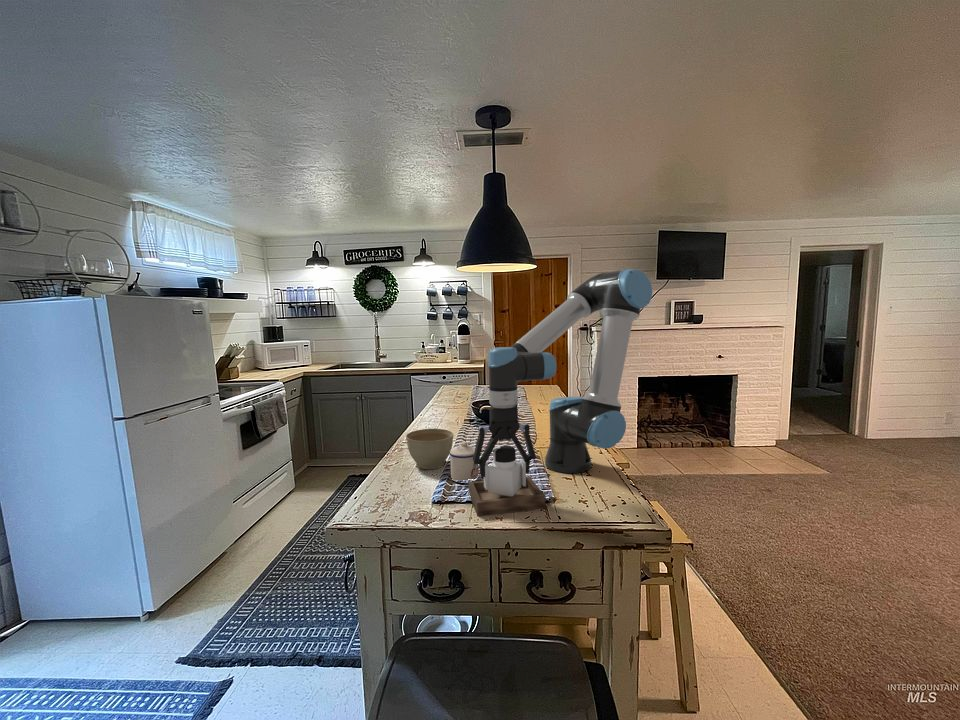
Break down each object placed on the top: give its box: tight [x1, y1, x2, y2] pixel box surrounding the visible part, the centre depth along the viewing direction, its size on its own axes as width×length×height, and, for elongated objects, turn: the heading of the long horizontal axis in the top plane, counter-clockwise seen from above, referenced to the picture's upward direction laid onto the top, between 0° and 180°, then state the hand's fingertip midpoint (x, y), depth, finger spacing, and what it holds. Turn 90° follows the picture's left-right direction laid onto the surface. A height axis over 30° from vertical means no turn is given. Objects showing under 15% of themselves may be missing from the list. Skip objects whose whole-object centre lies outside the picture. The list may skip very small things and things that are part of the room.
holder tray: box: [468, 476, 546, 517], centre depth 115 cm, size 18×14×4 cm
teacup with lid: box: [449, 441, 479, 480], centre depth 132 cm, size 12×9×12 cm
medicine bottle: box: [488, 444, 521, 497], centre depth 114 cm, size 7×7×12 cm
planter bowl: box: [405, 428, 454, 470], centre depth 144 cm, size 16×16×11 cm
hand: (504, 486), depth 114 cm, fingers closed on medicine bottle, 10 cm apart
